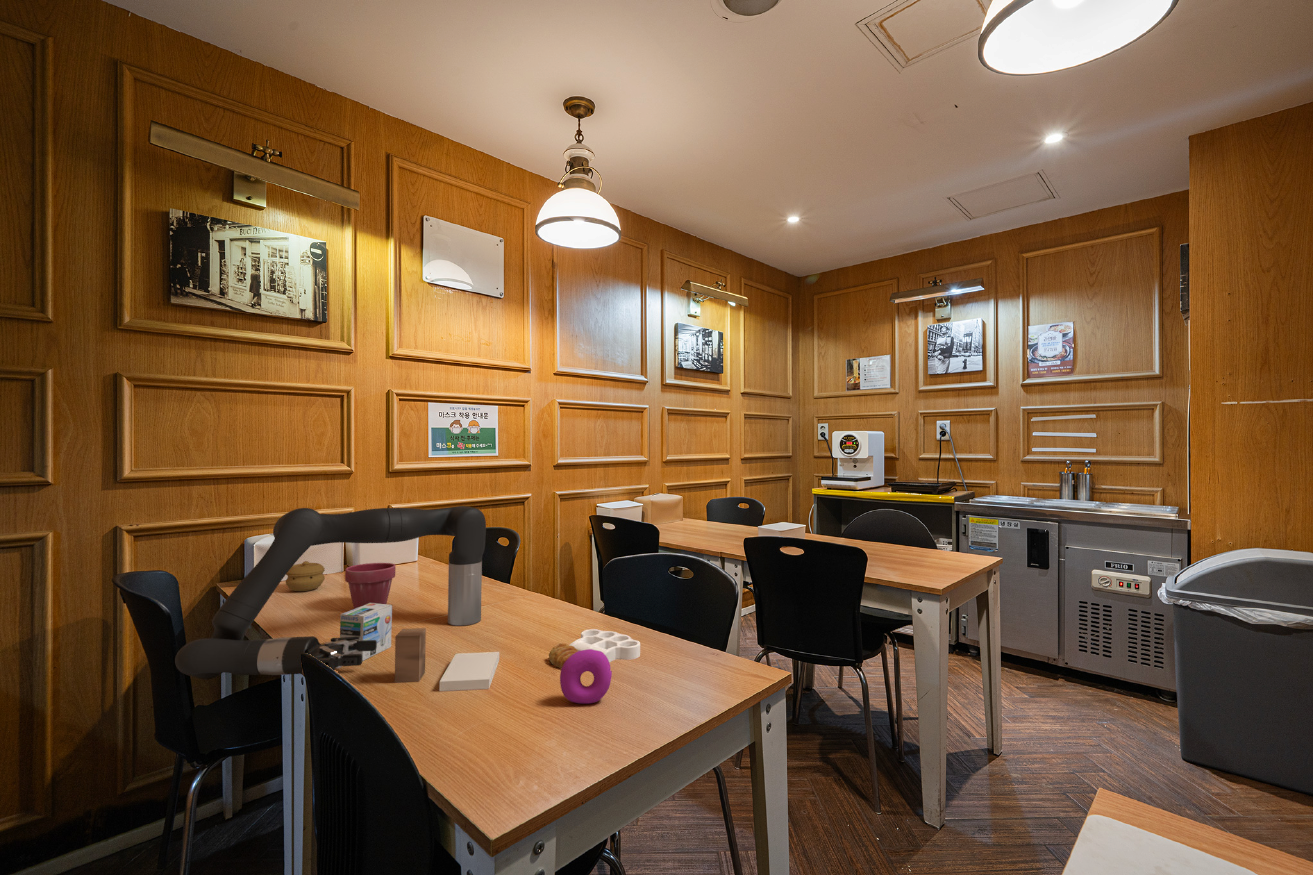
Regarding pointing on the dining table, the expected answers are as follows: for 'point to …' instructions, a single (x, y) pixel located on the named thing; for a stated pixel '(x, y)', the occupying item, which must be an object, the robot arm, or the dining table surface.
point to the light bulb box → (368, 626)
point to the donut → (576, 667)
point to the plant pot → (369, 582)
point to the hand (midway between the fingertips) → (369, 652)
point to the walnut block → (410, 655)
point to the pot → (305, 576)
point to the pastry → (561, 654)
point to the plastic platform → (470, 671)
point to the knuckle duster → (608, 644)
